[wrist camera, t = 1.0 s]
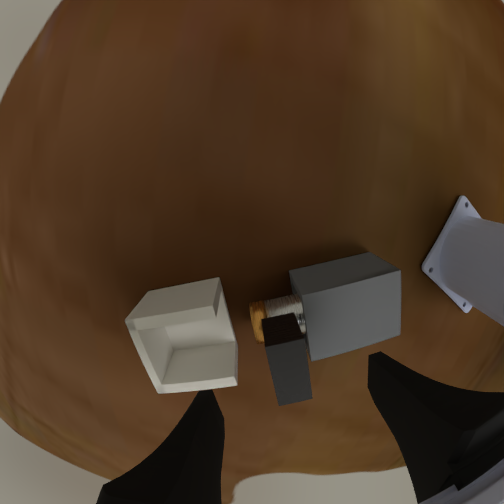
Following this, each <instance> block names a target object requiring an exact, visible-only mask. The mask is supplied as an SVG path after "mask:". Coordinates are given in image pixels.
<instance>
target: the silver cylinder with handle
mask: <svg viewBox="0 0 504 504" xmlns="http://www.w3.org/2000/svg"><path fill="white" fill-rule="evenodd" d="M249 310H250V316H251V321H252V326H253V331H254V335H255V339H256V342H257V344H263V343H265V349H266V353H267V358H268V362H269V366H270V370H271V375H272V379H273V383H274V387H275V392H276V396H277V400H278V404H279V406H281V405H286V404H291V403H295V402H300V401H304V400H308V399H312V391H311V383H310V375H309V368H308V361H307V354H306V347H305V340H304V336H303V334H305V333H306V328H305V322H304V315H303V308H302V302H301V299H300V297H299V295H298V293H297V294H293V295H288V296H284V297H279V298H275V299H270V300H265V301H264V300H262V301H257V302H252V303H249Z"/></svg>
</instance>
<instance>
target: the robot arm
mask: <svg viewBox="0 0 504 504" xmlns="http://www.w3.org/2000/svg"><path fill="white" fill-rule="evenodd" d="M465 203H466V206H465ZM430 268H431V270H430V271H429V269H430ZM422 271H423V272H424V273H425V274H427V275H428V276H429V277H430V278H431V279H432V280H433V281H434V282H435V283H436V284H437V285H438V286H439V287H440V288H441V289H442V290H443V291H444V292H445V293H446V294H447V295H448V296H449V297H450V298H451V299H452V300H453V301H454V302H455V303H456V304H457V305H458V306H459V307H460V308H461V309H462V310H463V311H464V312H465V313H468V312H469V311H470V309H471V307H472V306H473V307H475V308H477V309H478V310H480V311H481V312H483V313H484V314H486V315H487V316H489V317H490V318H492V319H493V320H495V321H496V322H498V323H499V324H501V325H502V326H504V224H501V223H497V222H493V221H489V220H485V219H481V217H480V216H479V214H478V213H477V211H476V210H475V209H474V207H473V206H472V205H471V203H470V202H469V201H468V199H467V198H466V197H465V196H460V197H459V199H458V201H457V203H456V205H455V207H454V209H453V211H452V213H451V215H450V217H449V219H448V220H447V222H446V224H445V226H444V228H443V230H442V231H441V233H440V235H439V237H438V239H437V240H436V242H435V244H434V246H433V247H432V249H431V251H430V252H429V254H428V256H427V257H426V259H425V261H424V262H423V264H422ZM368 389H369V391H370V394H371V396H372V398H373V401H374V403H375V405H376V407H377V408H378V410H379V412H380V413H381V415H382V417H383V418H384V420H385V422H386V423H387V425H388V427H389V428H390V430H391V432H392V433H393V435H394V437H395V439H396V441H397V443H398V445H399V448H400V450H401V452H402V455H403V457H404V460H405V463H406V465H407V468H408V471H409V474H410V477H411V480H412V483H413V487H414V491H415V494H416V498H417V503H418V504H502V503H504V392H479V391H471V390H466V389H461V388H457V387H453V386H449V385H446V384H443V383H440V382H437V381H435V380H432V379H430V378H428V377H426V376H423V375H421V374H419V373H417V372H415V371H413V370H411V369H410V368H408V367H406V366H404V365H402V364H401V363H399V362H397V361H396V360H394V359H392V358H391V357H389V356H387V355H386V354H384V353H382V352H381V351H380V352H377V353H374V354H371V355H369V362H368ZM224 439H225V429H224V417H223V415H222V412H221V410H220V408H219V405H218V403H217V400H216V398H215V396H214V393H213V391H212V390H204V391H199V392H198V393H197V395H196V397H195V398H194V400H193V401H192V403H191V405H190V406H189V408H188V409H187V411H186V413H185V414H184V415H183V417H182V418H181V420H180V421H179V423H178V424H177V425H176V427H175V428H174V429H173V431H172V432H171V433H170V434H169V436H168V437H167V438H166V439H165V440H164V442H163V443H162V444H161V445H160V446H159V447H158V448H157V449H156V450H155V451H154V452H153V453H152V454H150V455H149V456H148V457H147V458H146V459H144V460H143V461H142V462H141V463H140V464H138V465H137V466H135V467H134V468H133V469H131V470H130V471H128V472H126V473H125V474H123V475H122V476H120V477H118V478H116V479H114V480H112V481H110V482H108V483H106V484H104V485H103V487H102V489H101V491H100V494H99V497H98V500H97V503H96V504H221V468H222V459H223V449H224Z"/></svg>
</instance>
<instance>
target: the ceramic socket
mask: <svg viewBox="0 0 504 504" xmlns="http://www.w3.org/2000/svg"><path fill="white" fill-rule="evenodd" d="M125 323H126V325H127V328H128V330H129V332H130V335H131V337H132V339H133V342H134V344H135V346H136V349H137V351H138V353H139V355H140V358H141V360H142V362H143V364H144V366H145V368H146V370H147V372H148V374H149V377H150V379H151V381H152V383H153V385H154V386H155V388H156V390H157V392H158V394H160V393H175V392H187V391H197V390H206V389H214V388H222V387H229V386H236V385H237V372H238V344H237V341H236V337H235V333H234V330H233V326H232V323H231V319H230V315H229V312H228V308H227V304H226V300H225V297H224V293H223V289H222V285H221V281H220V277H217V278H212V279H207V280H202V281H197V282H192V283H187V284H182V285H177V286H172V287H167V288H162V289H157V290H151V291H148V292H147V293H146V294H145V296H144V297H143V298H142V299H141V301H140V302H139V303H138V304H137V305H136V307H135V308H134V309H133V310H132V312H131V313H130V314H129V315H128V317H127V318H126V319H125Z"/></svg>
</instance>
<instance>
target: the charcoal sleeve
mask: <svg viewBox="0 0 504 504" xmlns="http://www.w3.org/2000/svg"><path fill="white" fill-rule="evenodd" d="M289 275H290V281H291V287H292V292H293V294H297V293H298V295H299V297H300V299H301V302H302V308H303V315H304V322H305V328H306V333H305V334H303V336H304V340H305V346H306V349H307V351H308V354H309V357H310V359H311V361H315V360H319V359H323V358H327V357H331V356H334V355H338V354H341V353H345V352H348V351H352V350H355V349H358V348H362V347H365V346H368V345H371V344H374V343H377V342H380V341H383V340H386V339H389V338H392V337H395V336H398V335H400V325H401V270H400V269H398V268H396V267H395V266H393V265H391V264H390V263H388V262H386V261H385V260H383V259H381V258H379V257H378V256H376V255H374V254H372V253H371V252H367V253H363V254H359V255H355V256H350V257H346V258H342V259H338V260H333V261H329V262H325V263H320V264H316V265H311V266H307V267H302V268H298V269H293V270H289Z"/></svg>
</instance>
